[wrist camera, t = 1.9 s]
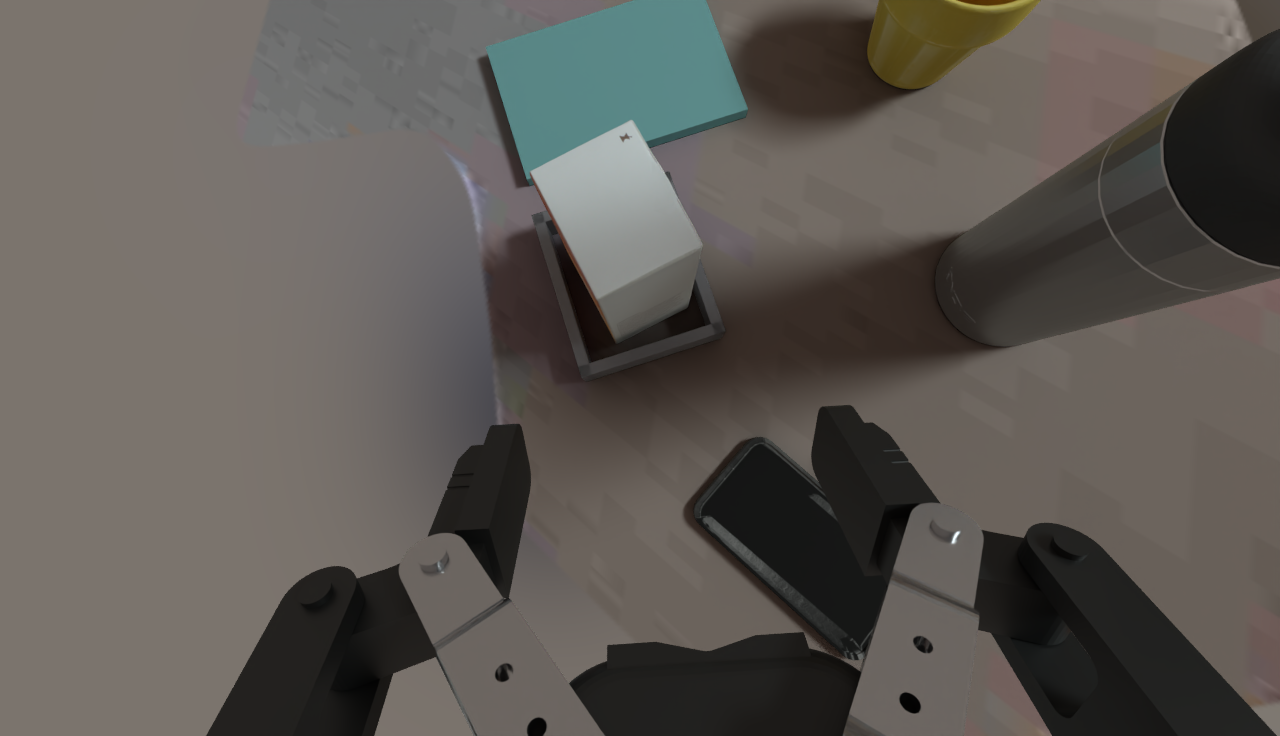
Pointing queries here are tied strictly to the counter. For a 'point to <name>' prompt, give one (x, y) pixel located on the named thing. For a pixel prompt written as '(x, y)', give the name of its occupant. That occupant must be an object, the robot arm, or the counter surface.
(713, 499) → the phone
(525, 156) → the board
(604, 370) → the tray frame
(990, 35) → the plant pot
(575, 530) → the counter surface
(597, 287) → the small box
